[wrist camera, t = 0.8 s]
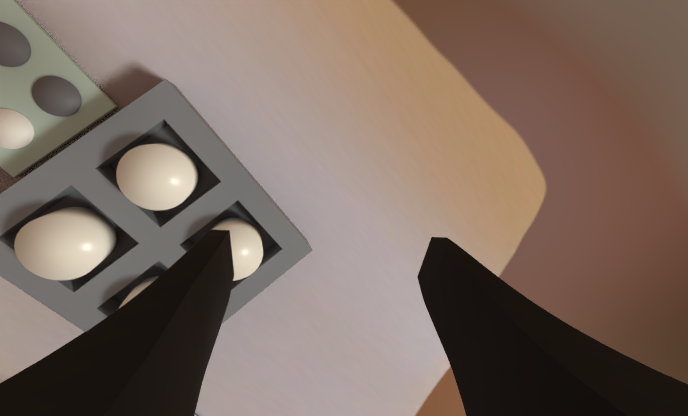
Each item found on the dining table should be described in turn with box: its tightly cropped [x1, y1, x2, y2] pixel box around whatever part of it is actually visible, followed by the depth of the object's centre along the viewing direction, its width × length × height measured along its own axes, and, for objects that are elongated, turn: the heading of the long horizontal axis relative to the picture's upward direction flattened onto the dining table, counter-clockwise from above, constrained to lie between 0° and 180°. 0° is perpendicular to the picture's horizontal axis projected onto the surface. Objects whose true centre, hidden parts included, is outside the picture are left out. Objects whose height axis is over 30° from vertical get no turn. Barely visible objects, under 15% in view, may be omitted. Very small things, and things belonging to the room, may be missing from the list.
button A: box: [116, 143, 198, 210], centre depth 22 cm, size 5×5×3 cm
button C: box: [210, 218, 263, 281], centre depth 25 cm, size 5×5×3 cm
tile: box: [0, 0, 118, 177], centre depth 21 cm, size 9×9×1 cm
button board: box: [0, 79, 312, 332], centre depth 25 cm, size 18×18×3 cm
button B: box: [14, 207, 117, 280], centre depth 21 cm, size 5×5×3 cm
